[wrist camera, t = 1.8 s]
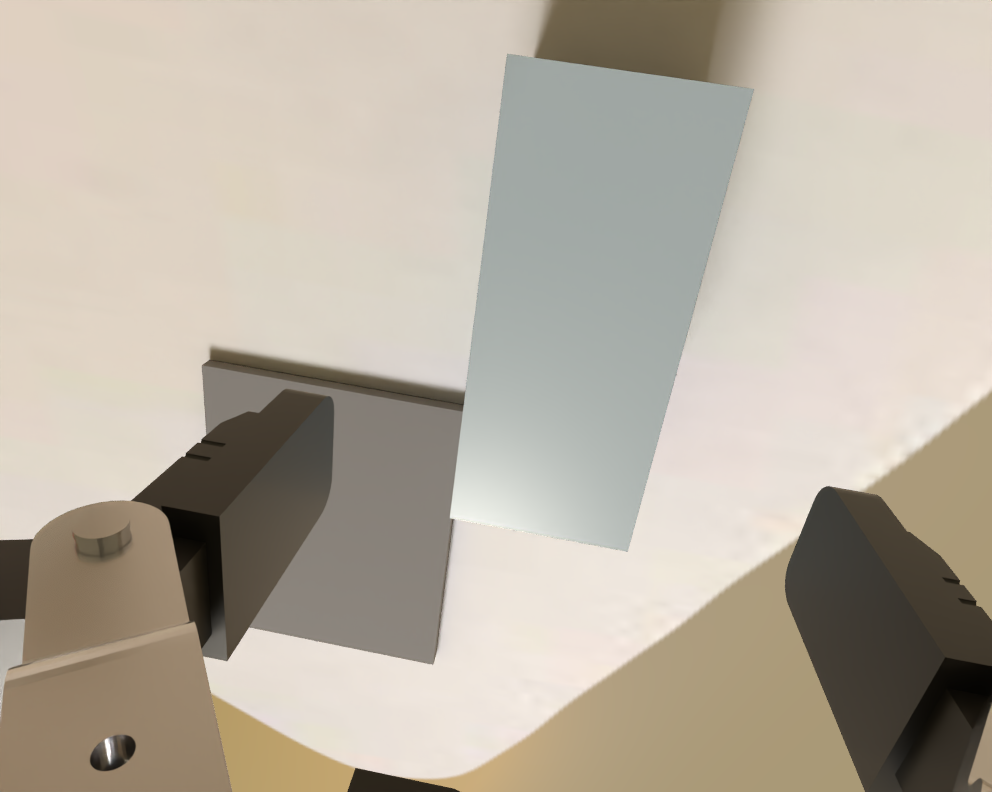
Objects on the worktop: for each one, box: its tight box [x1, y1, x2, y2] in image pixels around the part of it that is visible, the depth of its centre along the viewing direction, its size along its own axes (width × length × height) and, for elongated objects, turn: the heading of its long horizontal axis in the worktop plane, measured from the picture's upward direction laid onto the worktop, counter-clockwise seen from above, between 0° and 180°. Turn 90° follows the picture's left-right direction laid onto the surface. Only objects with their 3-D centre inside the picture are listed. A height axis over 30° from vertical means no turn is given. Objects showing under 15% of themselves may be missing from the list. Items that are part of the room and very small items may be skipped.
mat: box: [202, 360, 464, 665], centre depth 30 cm, size 14×11×1 cm
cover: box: [450, 54, 754, 552], centre depth 21 cm, size 13×6×7 cm, turn 172°
